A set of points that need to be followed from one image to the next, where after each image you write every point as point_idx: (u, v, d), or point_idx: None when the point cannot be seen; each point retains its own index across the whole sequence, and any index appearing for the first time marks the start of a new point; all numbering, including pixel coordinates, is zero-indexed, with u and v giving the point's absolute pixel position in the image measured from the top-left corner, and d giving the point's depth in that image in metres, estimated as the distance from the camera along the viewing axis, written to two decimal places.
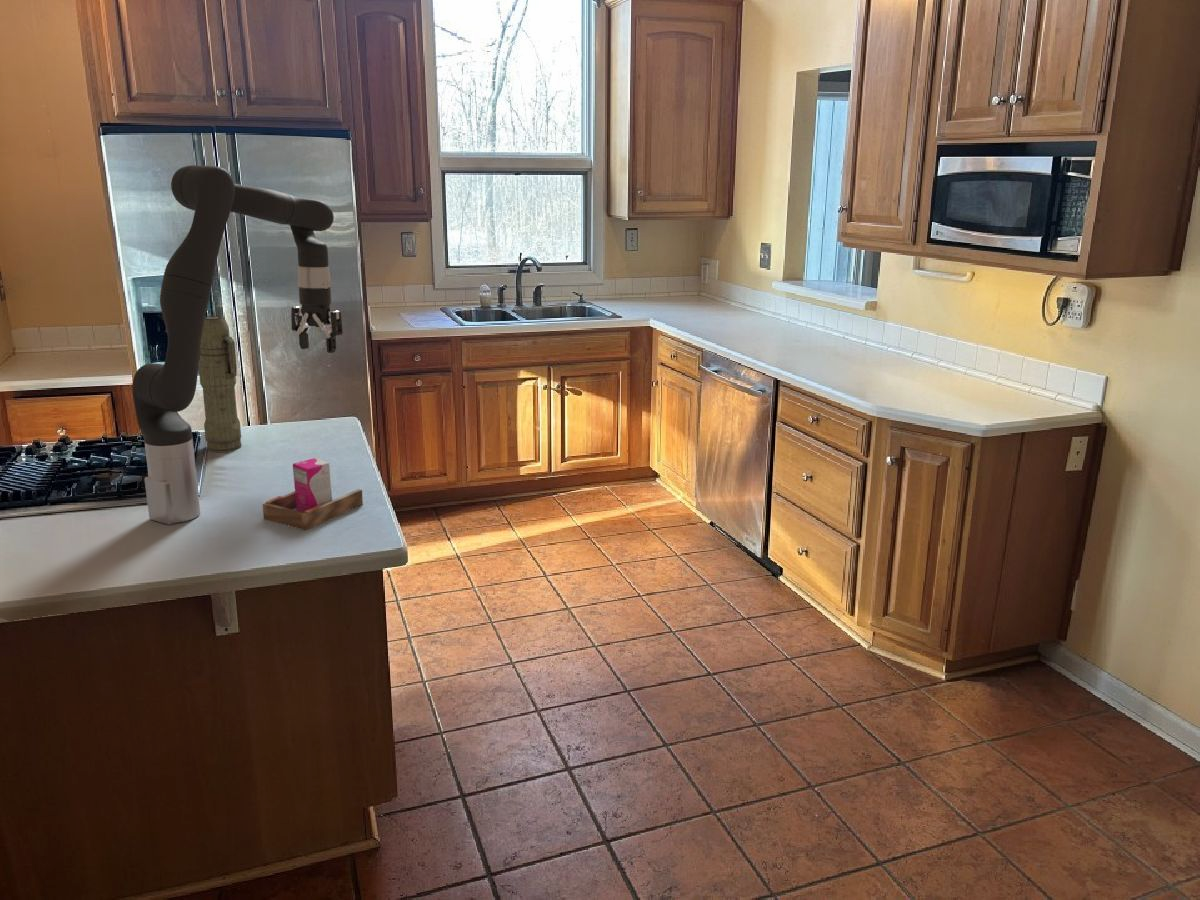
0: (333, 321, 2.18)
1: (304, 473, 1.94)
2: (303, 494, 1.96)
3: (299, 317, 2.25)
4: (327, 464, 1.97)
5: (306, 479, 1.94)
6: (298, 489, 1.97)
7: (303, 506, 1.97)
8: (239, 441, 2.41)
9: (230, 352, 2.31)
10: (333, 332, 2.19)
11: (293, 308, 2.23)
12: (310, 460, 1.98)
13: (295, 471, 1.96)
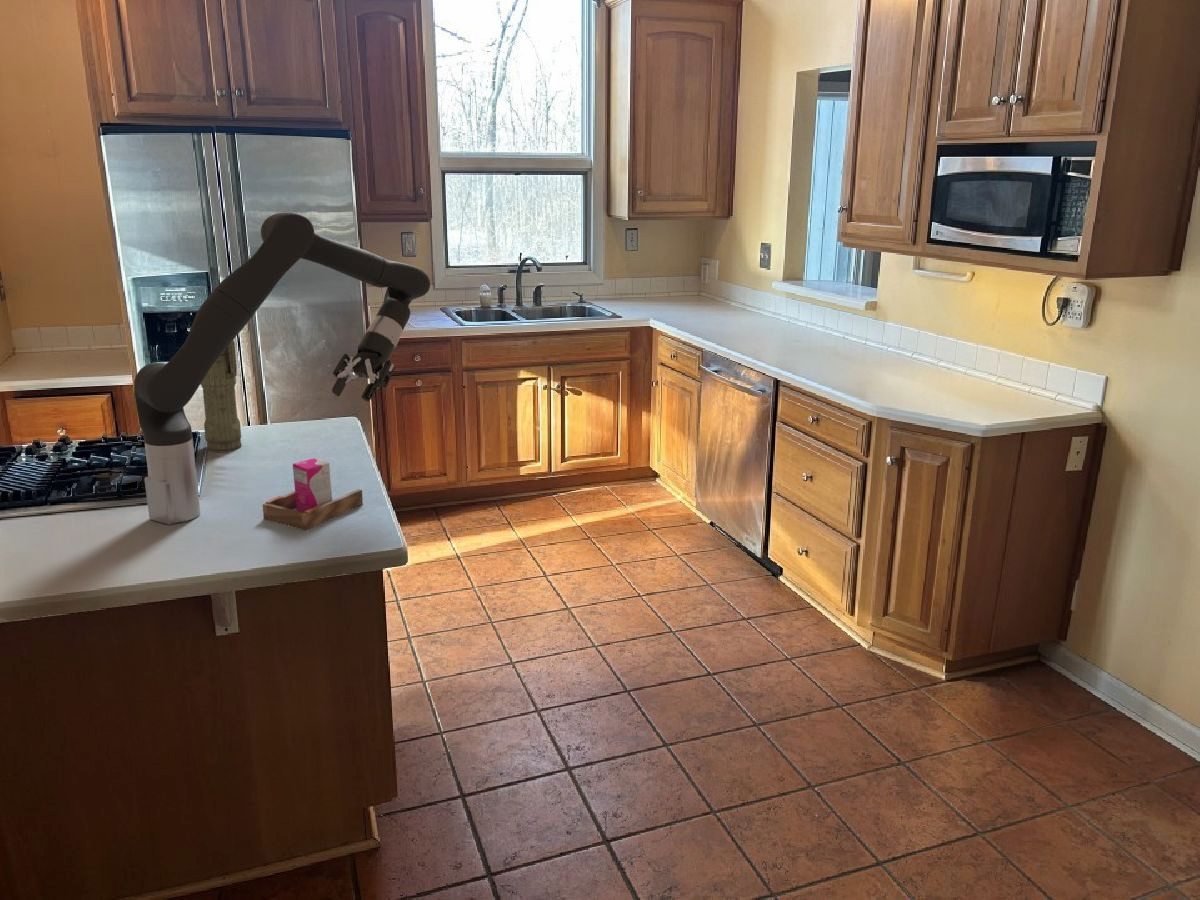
0: (385, 368, 2.04)
1: (304, 473, 1.94)
2: (303, 494, 1.96)
3: (346, 367, 2.10)
4: (327, 464, 1.97)
5: (306, 479, 1.94)
6: (298, 489, 1.97)
7: (303, 506, 1.97)
8: (239, 441, 2.41)
9: (230, 352, 2.31)
10: (379, 378, 2.03)
11: (346, 355, 2.10)
12: (310, 460, 1.98)
13: (295, 471, 1.96)
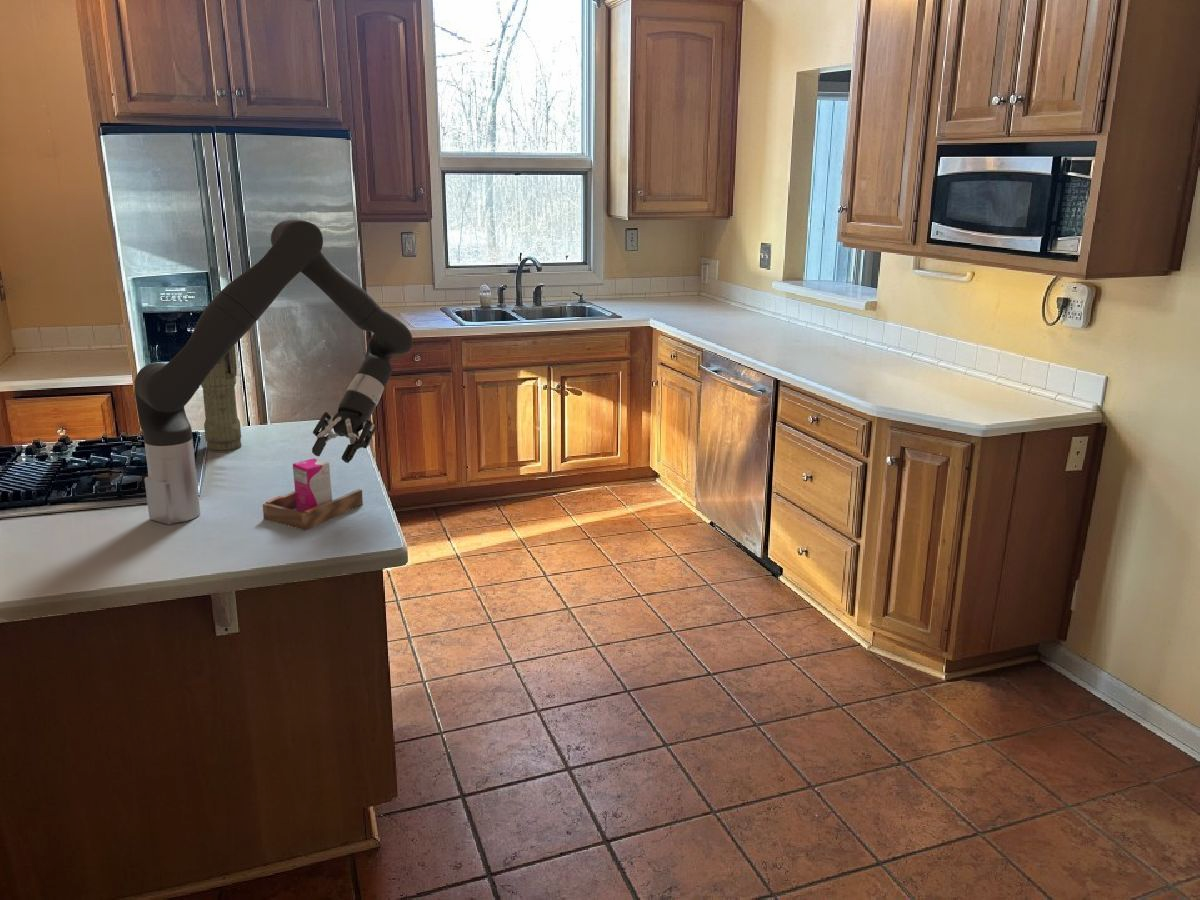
0: (365, 429, 2.01)
1: (304, 473, 1.94)
2: (303, 494, 1.96)
3: (326, 425, 2.07)
4: (327, 464, 1.97)
5: (306, 479, 1.94)
6: (298, 489, 1.97)
7: (303, 506, 1.97)
8: (239, 441, 2.41)
9: (230, 352, 2.31)
10: (360, 439, 2.00)
11: (326, 413, 2.07)
12: (310, 460, 1.98)
13: (295, 471, 1.96)
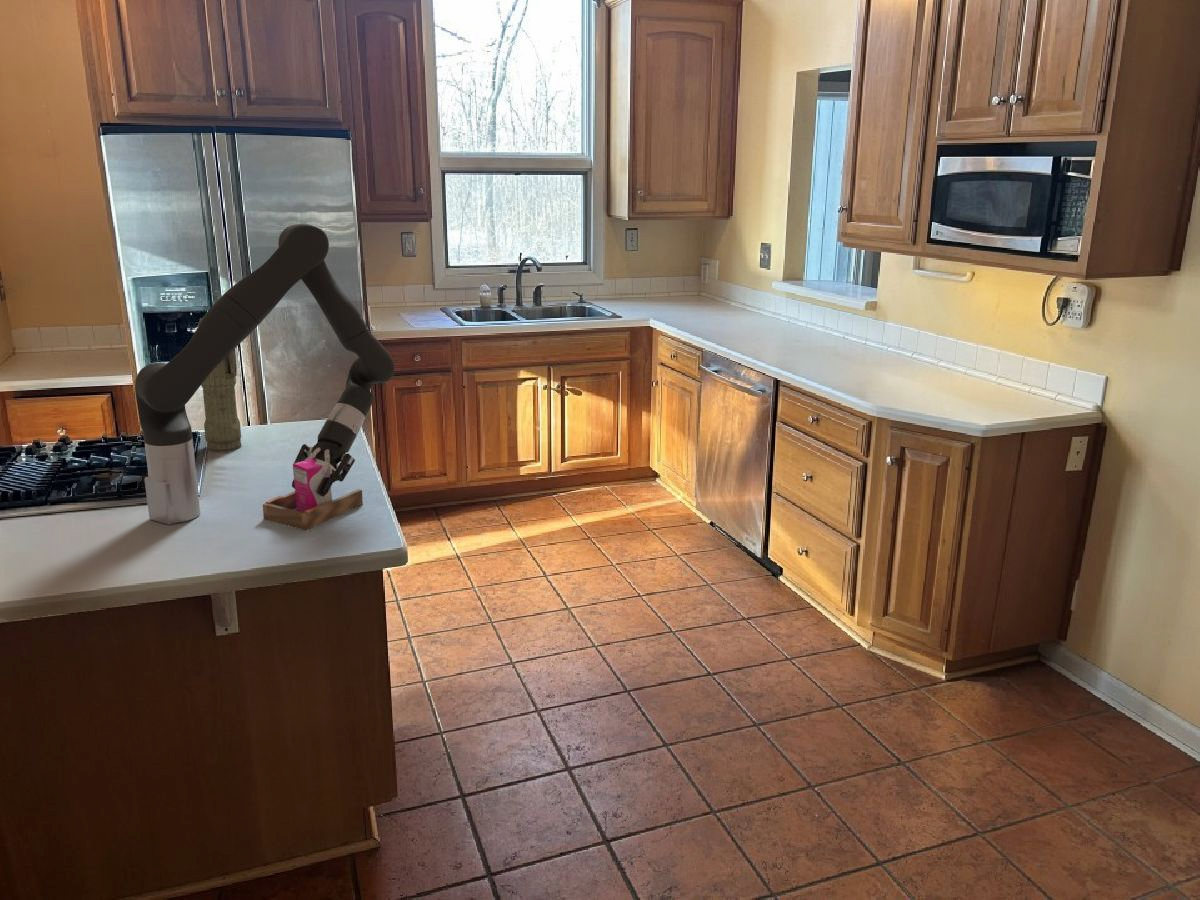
0: (343, 462, 1.97)
1: (304, 473, 1.94)
2: (303, 494, 1.96)
3: (305, 457, 2.03)
4: (327, 464, 1.97)
5: (306, 479, 1.94)
6: (298, 489, 1.97)
7: (303, 505, 1.97)
8: (239, 441, 2.41)
9: None
10: (336, 472, 1.96)
11: (304, 445, 2.03)
12: (310, 460, 1.98)
13: (295, 470, 1.96)
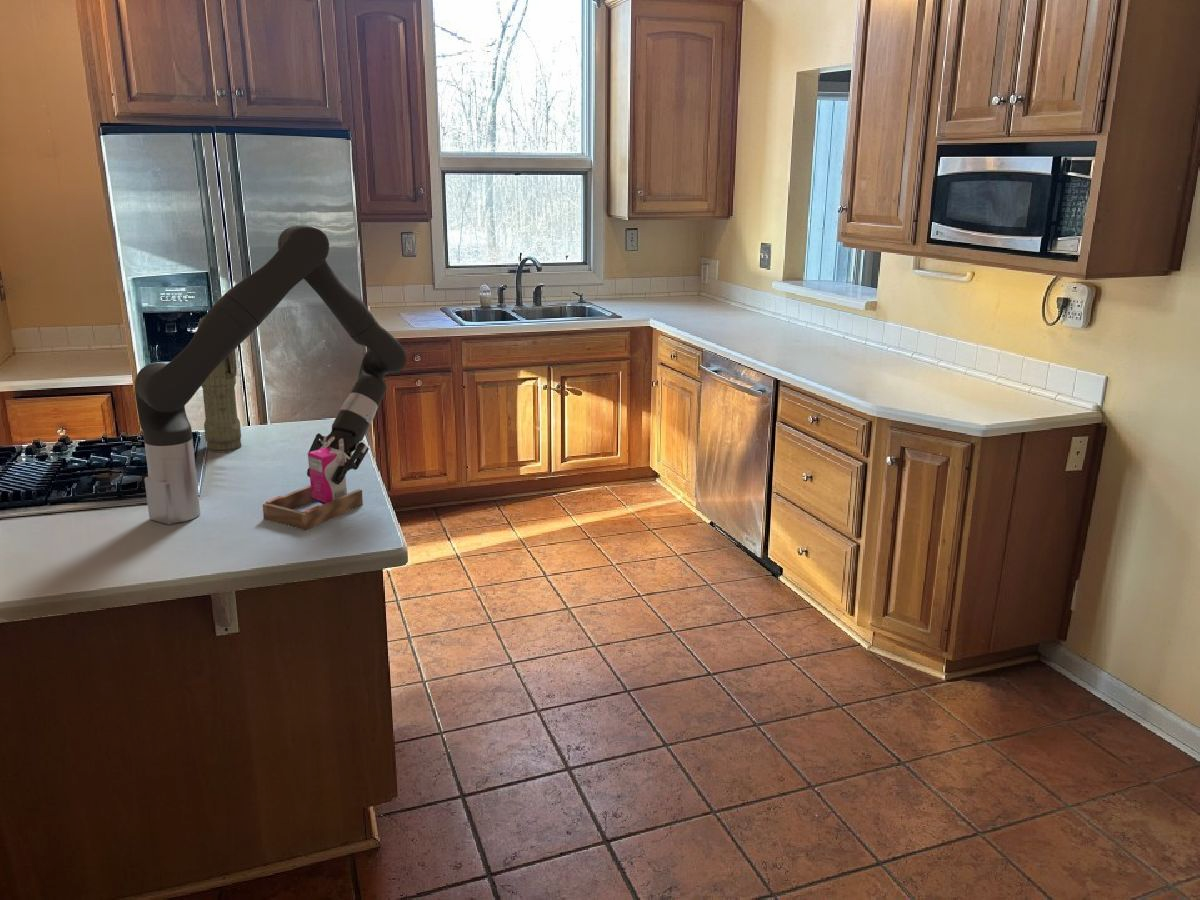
0: (357, 451, 2.00)
1: (319, 462, 1.97)
2: (318, 482, 1.99)
3: (320, 446, 2.06)
4: (341, 453, 2.00)
5: (321, 467, 1.97)
6: (313, 477, 2.00)
7: (318, 494, 2.00)
8: (239, 441, 2.41)
9: None
10: (350, 461, 1.99)
11: (319, 434, 2.06)
12: (325, 449, 2.02)
13: (310, 459, 1.99)
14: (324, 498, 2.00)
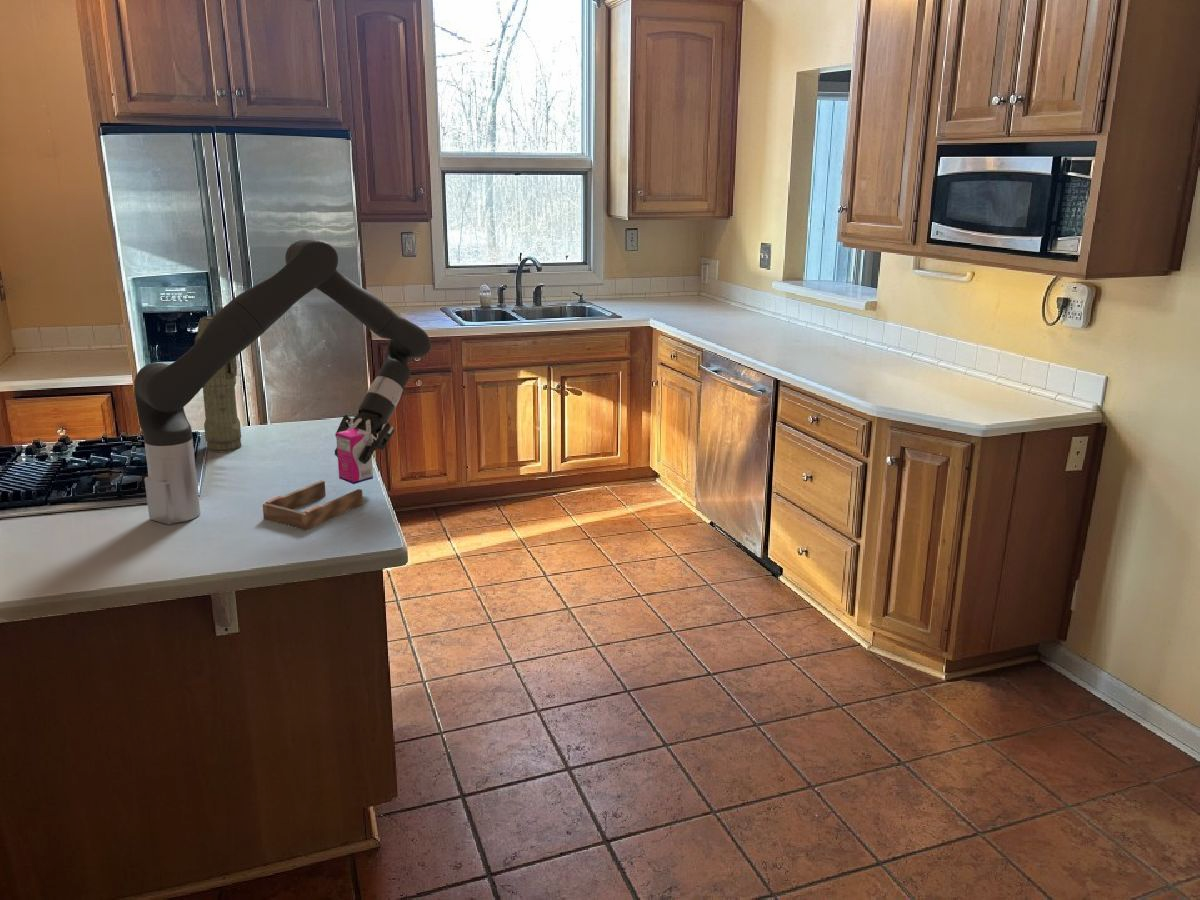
0: (384, 431, 2.08)
1: (348, 441, 2.05)
2: (346, 462, 2.07)
3: (347, 428, 2.14)
4: (368, 433, 2.08)
5: (349, 447, 2.05)
6: (341, 457, 2.08)
7: (346, 472, 2.08)
8: (239, 441, 2.41)
9: None
10: (377, 441, 2.07)
11: (346, 416, 2.14)
12: (352, 429, 2.09)
13: (338, 439, 2.07)
14: (351, 477, 2.07)
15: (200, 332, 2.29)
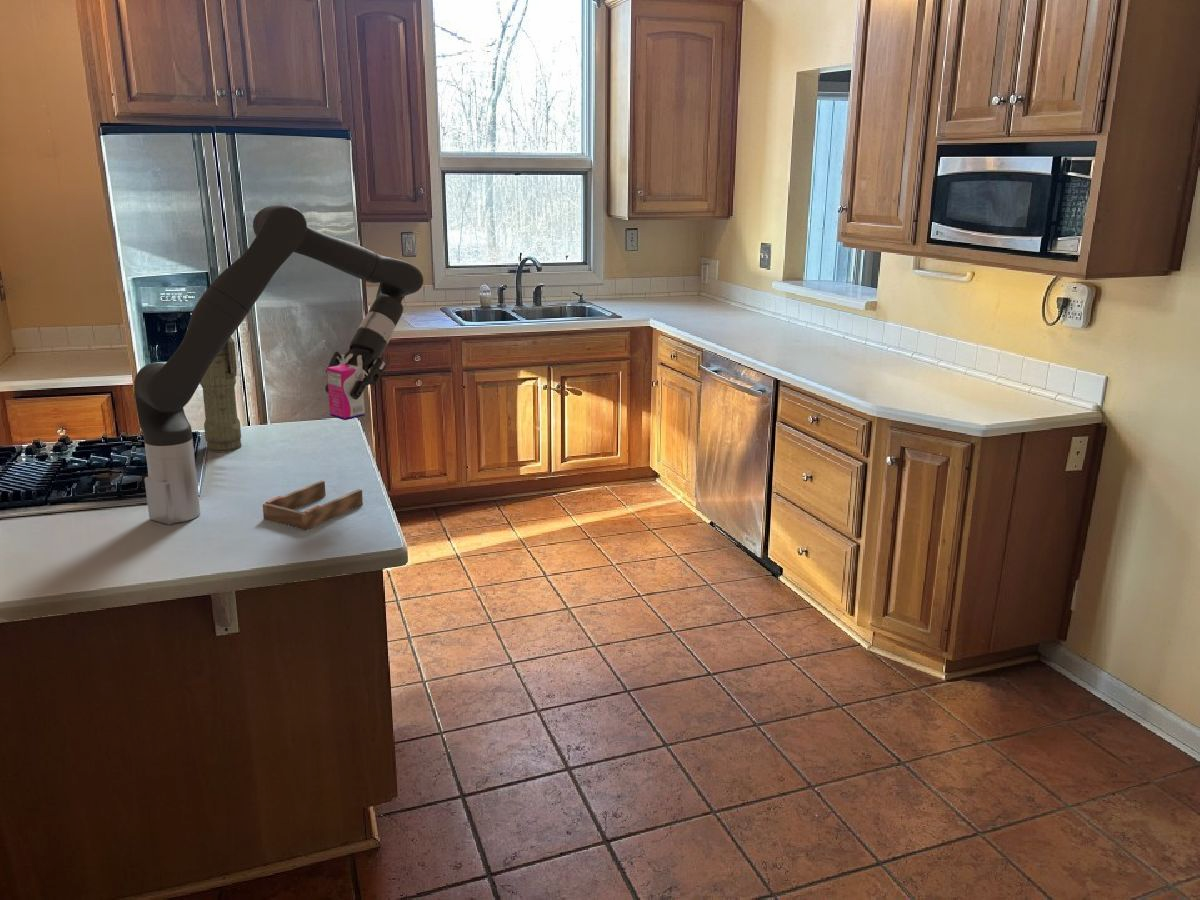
0: (375, 366, 2.03)
1: (338, 376, 2.00)
2: (337, 397, 2.02)
3: (338, 364, 2.09)
4: (360, 368, 2.03)
5: (340, 381, 2.00)
6: (332, 392, 2.03)
7: (337, 409, 2.03)
8: (239, 441, 2.41)
9: (230, 352, 2.31)
10: (368, 376, 2.02)
11: (337, 352, 2.08)
12: (343, 365, 2.04)
13: (329, 374, 2.02)
14: (342, 413, 2.02)
15: None
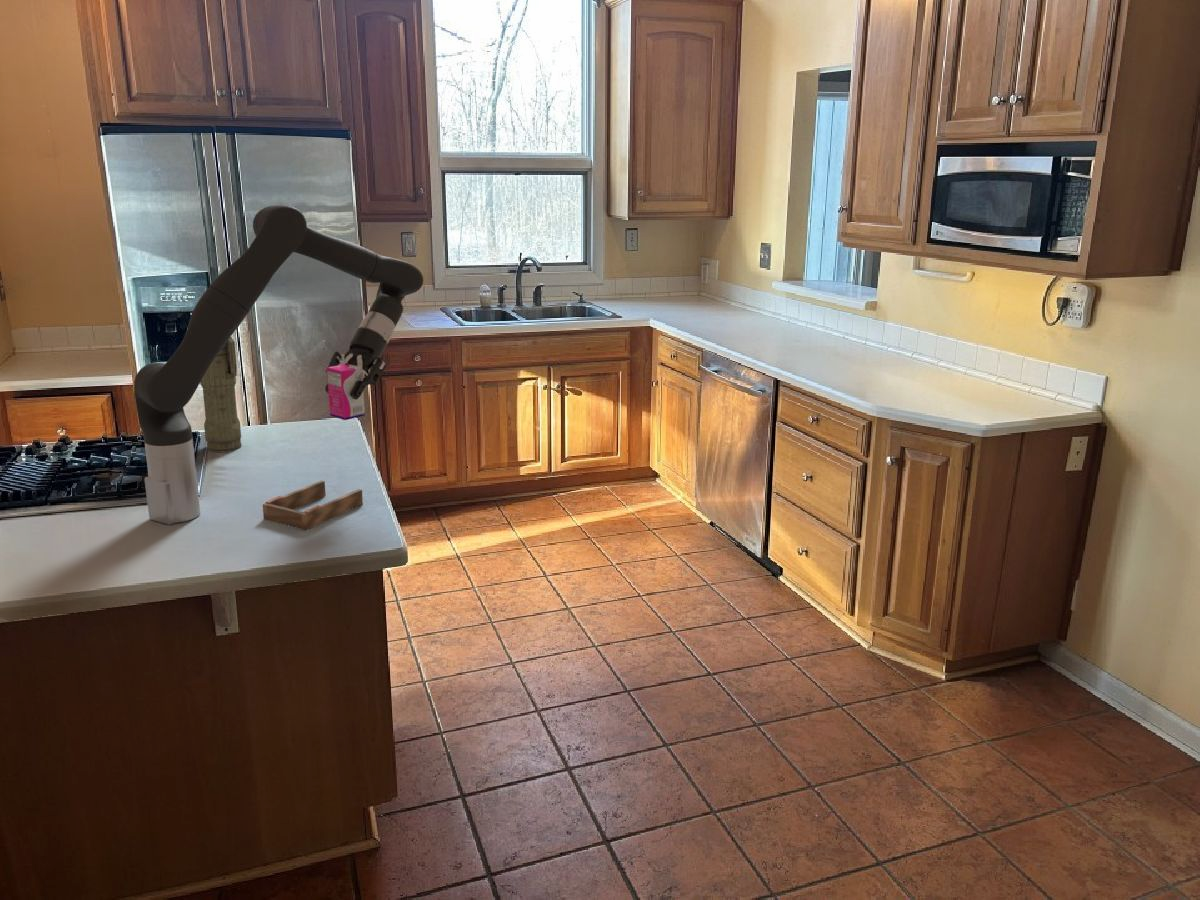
0: (375, 366, 2.03)
1: (338, 376, 2.00)
2: (337, 397, 2.02)
3: (338, 364, 2.09)
4: (360, 368, 2.03)
5: (340, 381, 2.00)
6: (332, 392, 2.03)
7: (337, 408, 2.03)
8: (239, 441, 2.41)
9: (230, 352, 2.31)
10: (368, 376, 2.02)
11: (337, 352, 2.08)
12: (343, 365, 2.04)
13: (329, 374, 2.02)
14: (342, 413, 2.02)
15: None
